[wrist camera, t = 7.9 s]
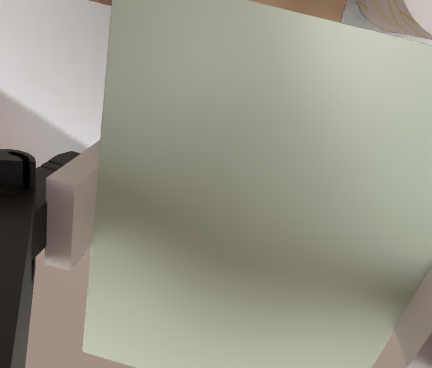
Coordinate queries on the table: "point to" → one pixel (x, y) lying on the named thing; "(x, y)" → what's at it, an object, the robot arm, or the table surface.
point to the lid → (257, 188)
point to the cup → (400, 16)
